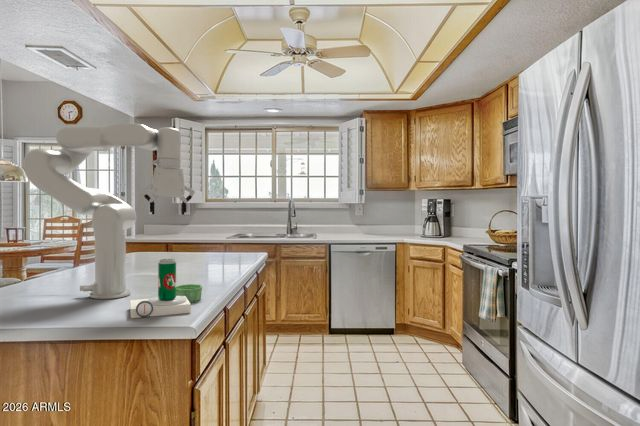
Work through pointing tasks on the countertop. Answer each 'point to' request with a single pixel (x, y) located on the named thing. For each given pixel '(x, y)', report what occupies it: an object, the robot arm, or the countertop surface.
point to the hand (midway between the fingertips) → (168, 214)
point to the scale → (159, 307)
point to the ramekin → (189, 291)
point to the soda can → (167, 279)
